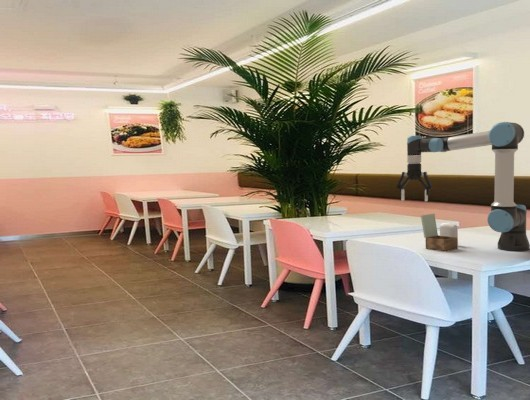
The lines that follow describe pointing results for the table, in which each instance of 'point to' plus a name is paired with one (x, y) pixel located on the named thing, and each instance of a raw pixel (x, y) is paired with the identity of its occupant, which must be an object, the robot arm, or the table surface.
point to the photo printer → (448, 230)
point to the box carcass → (442, 243)
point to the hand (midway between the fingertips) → (414, 201)
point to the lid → (429, 225)
